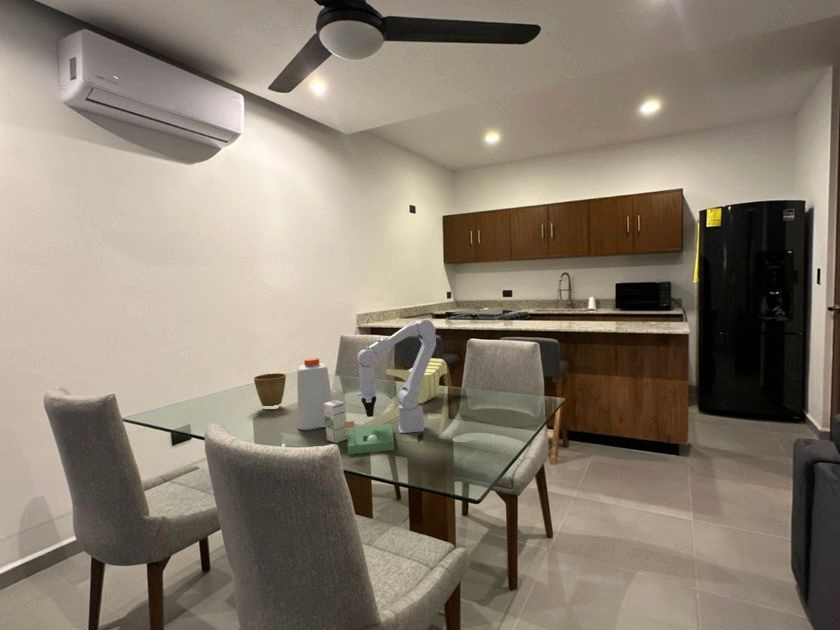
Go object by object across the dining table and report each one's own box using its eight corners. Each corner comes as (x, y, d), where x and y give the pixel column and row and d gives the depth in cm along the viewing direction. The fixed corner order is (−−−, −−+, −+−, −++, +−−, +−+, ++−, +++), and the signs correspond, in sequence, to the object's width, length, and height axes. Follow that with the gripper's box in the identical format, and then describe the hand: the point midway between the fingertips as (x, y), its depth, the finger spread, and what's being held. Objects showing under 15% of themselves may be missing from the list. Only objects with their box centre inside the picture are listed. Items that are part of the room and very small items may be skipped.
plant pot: (268, 414, 209) (265, 380, 207) (250, 410, 218) (247, 377, 216) (294, 406, 220) (292, 374, 219) (276, 402, 229) (274, 371, 228)
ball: (378, 443, 157) (375, 449, 159) (380, 434, 160) (377, 440, 162) (367, 441, 156) (365, 447, 159) (369, 431, 159) (367, 437, 162)
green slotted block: (391, 431, 175) (389, 403, 174) (394, 449, 155) (392, 419, 154) (348, 435, 173) (346, 407, 172) (346, 454, 153) (343, 423, 152)
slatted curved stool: (415, 409, 203) (413, 370, 202) (388, 405, 212) (385, 368, 210) (448, 393, 228) (446, 359, 227) (422, 390, 237) (420, 357, 235)
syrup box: (347, 439, 169) (344, 401, 168) (334, 443, 164) (332, 405, 163) (338, 436, 173) (335, 399, 171) (325, 440, 168) (322, 403, 167)
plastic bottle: (298, 432, 180) (292, 363, 178) (298, 421, 194) (293, 358, 192) (336, 427, 184) (331, 360, 182) (333, 416, 198) (328, 354, 196)
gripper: (357, 378, 176) (359, 411, 177) (356, 386, 162) (359, 423, 163) (375, 376, 177) (377, 410, 178) (375, 384, 162) (378, 421, 163)
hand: (370, 416), depth 170 cm, fingers closed
